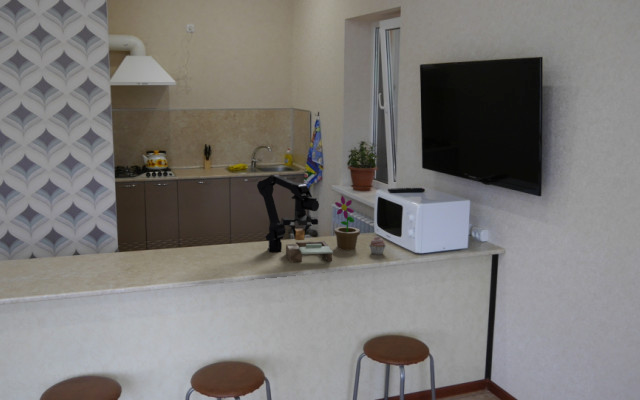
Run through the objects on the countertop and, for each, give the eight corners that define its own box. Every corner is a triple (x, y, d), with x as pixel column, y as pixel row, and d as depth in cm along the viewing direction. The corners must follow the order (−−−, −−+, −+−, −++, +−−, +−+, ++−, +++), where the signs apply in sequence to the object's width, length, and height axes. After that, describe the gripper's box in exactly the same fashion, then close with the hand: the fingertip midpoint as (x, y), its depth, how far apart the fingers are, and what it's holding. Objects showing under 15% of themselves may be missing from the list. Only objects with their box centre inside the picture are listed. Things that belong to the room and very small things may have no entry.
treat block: (295, 240, 305) (296, 231, 304) (294, 238, 309) (294, 228, 308) (304, 240, 306) (304, 230, 305) (302, 237, 310) (302, 228, 309)
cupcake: (381, 256, 314) (382, 239, 312) (365, 254, 319) (366, 236, 317) (388, 252, 322) (389, 235, 320) (373, 250, 327) (373, 232, 325)
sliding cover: (302, 254, 295) (302, 249, 295) (298, 248, 305) (298, 244, 304) (332, 253, 299) (333, 248, 298) (328, 247, 308) (328, 243, 308)
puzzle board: (290, 262, 300) (290, 251, 299) (284, 252, 317) (284, 242, 316) (331, 260, 305) (332, 250, 304) (324, 250, 322) (324, 240, 321)
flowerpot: (328, 247, 328) (330, 195, 322) (342, 242, 340) (344, 191, 334) (350, 252, 320) (352, 199, 314) (363, 247, 332) (366, 195, 326)
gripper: (285, 212, 294) (284, 241, 298) (321, 211, 299) (320, 240, 302) (281, 207, 305) (280, 236, 308) (316, 206, 310) (315, 235, 313)
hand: (299, 237), depth 308 cm, fingers closed on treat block, 4 cm apart
